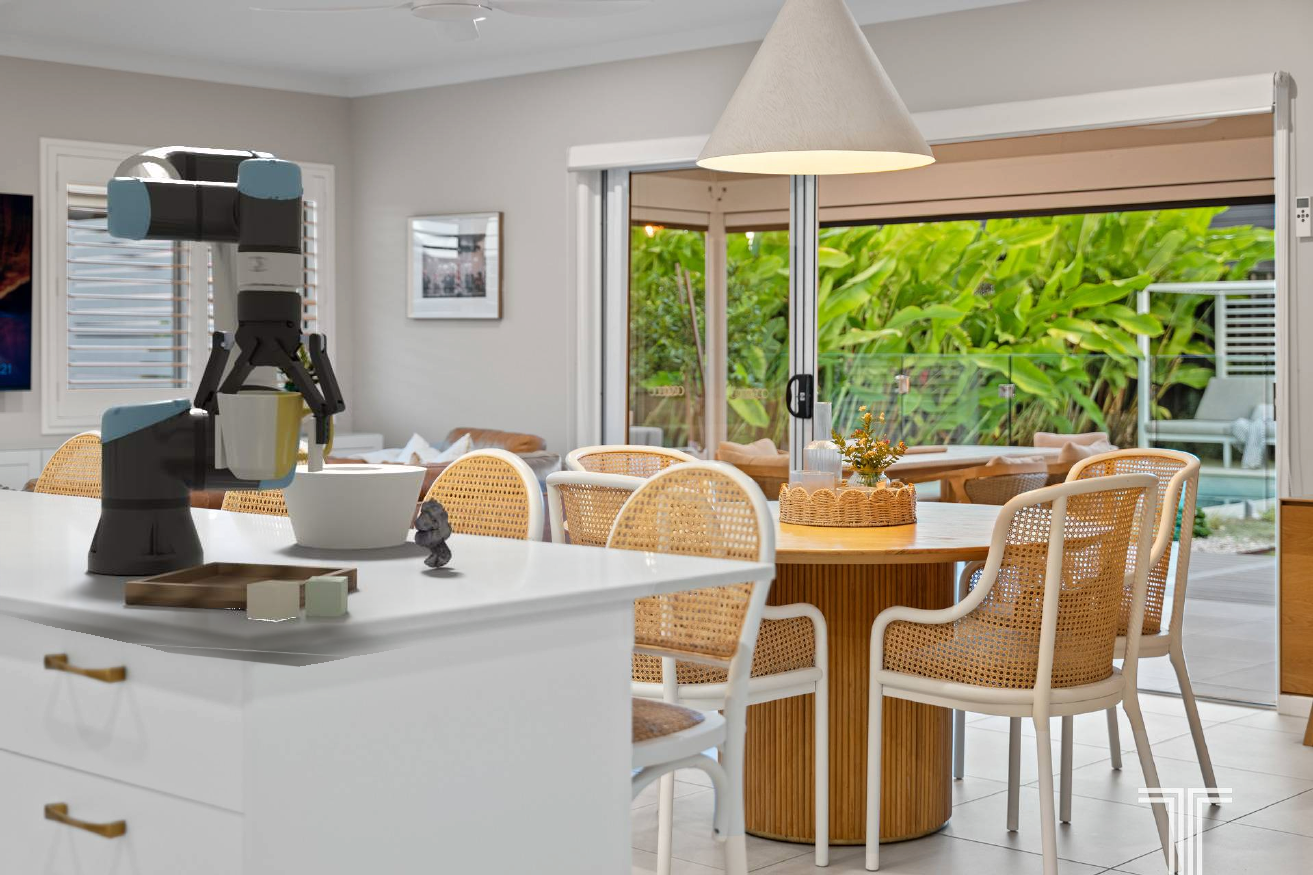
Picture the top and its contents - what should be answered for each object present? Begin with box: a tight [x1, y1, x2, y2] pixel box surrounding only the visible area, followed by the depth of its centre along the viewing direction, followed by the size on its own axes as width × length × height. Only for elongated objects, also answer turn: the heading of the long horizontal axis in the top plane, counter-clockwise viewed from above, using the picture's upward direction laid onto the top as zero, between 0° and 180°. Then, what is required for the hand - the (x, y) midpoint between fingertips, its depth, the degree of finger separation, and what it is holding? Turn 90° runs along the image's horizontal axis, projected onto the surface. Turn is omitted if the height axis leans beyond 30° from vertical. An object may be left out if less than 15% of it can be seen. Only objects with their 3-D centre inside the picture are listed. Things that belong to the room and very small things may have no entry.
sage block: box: [304, 576, 349, 617], centre depth 164 cm, size 4×4×4 cm
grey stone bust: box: [413, 496, 453, 569], centre depth 204 cm, size 5×5×10 cm
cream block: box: [246, 580, 300, 621], centre depth 160 cm, size 4×4×4 cm
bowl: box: [280, 463, 428, 550], centre depth 233 cm, size 24×24×12 cm
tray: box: [124, 561, 358, 610], centre depth 176 cm, size 20×20×2 cm
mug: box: [217, 390, 335, 480], centre depth 176 cm, size 14×10×10 cm
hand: (268, 469), depth 176 cm, fingers closed on mug, 11 cm apart
